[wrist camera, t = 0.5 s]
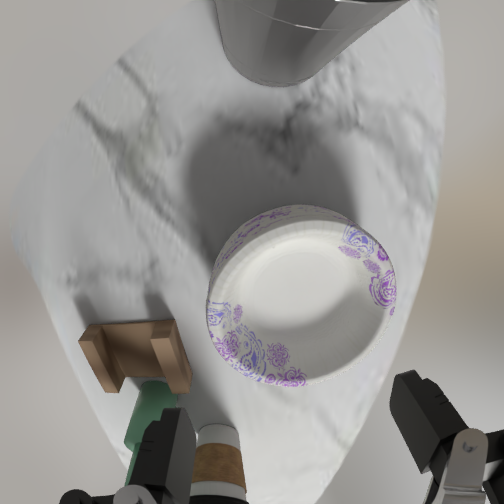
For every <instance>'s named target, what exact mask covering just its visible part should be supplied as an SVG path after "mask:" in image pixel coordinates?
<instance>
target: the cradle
mask: <svg viewBox="0 0 504 504" xmlns="http://www.w3.org/2000/svg"><path fill="white" fill-rule="evenodd" d="M78 342H79V344H80V346H81V348H82V350H83V352H84V354H85V356H86V358H87V360H88V362H89V364H90V366H91V368H92V370H93V372H94V373H95V375H96V377H97V379H98V381H99V382H100V384H101V386H102V388H103V389H104V391H105V392H107V393H119V391H120V389H121V387H122V384H123V382H124V379H125V377H165V378H166V380H167V383H168V385H169V387H170V390H171V392H172V394H185V393H189V392H190V386H191V380H192V371H191V368H190V365H189V362H188V359H187V356H186V353H185V350H184V347H183V344H182V341H181V337H180V334H179V331H178V328H177V324H176V321H175V319H174V320H162V321H149V322H135V323H119V324H99V325H89V326H88V327H87V329H86V330H85V332H84V333H83V335H82V336H81V338H80V339H79V340H78Z"/></svg>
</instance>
